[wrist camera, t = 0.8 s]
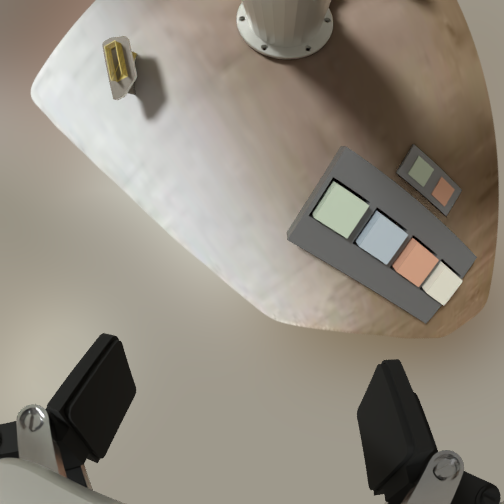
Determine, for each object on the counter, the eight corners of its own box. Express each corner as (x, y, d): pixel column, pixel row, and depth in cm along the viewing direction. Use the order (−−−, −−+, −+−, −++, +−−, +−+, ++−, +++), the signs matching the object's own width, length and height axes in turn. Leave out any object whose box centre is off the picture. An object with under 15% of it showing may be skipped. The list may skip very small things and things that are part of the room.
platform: (161, 8, 28) (142, -8, 22) (187, 108, 34) (170, 103, 28) (95, 43, 30) (71, 34, 24) (116, 137, 36) (91, 140, 30)
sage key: (332, 180, 34) (336, 183, 32) (363, 200, 35) (369, 205, 32) (311, 212, 36) (314, 218, 33) (342, 231, 36) (347, 238, 34)
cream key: (438, 258, 36) (446, 266, 34) (455, 273, 37) (462, 281, 34) (419, 284, 38) (426, 293, 36) (436, 297, 39) (443, 305, 36)
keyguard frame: (341, 146, 34) (346, 146, 31) (467, 250, 37) (476, 257, 34) (286, 232, 39) (287, 239, 36) (419, 313, 42) (426, 323, 40)
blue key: (374, 208, 35) (381, 214, 32) (400, 228, 35) (408, 234, 33) (354, 239, 37) (359, 246, 34) (380, 256, 37) (386, 264, 35)
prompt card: (412, 144, 32) (414, 144, 32) (460, 189, 34) (462, 190, 33) (395, 172, 34) (397, 173, 34) (444, 215, 35) (447, 216, 35)
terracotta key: (410, 235, 36) (417, 242, 33) (431, 252, 36) (439, 260, 34) (390, 263, 38) (396, 271, 35) (411, 278, 38) (418, 287, 36)
